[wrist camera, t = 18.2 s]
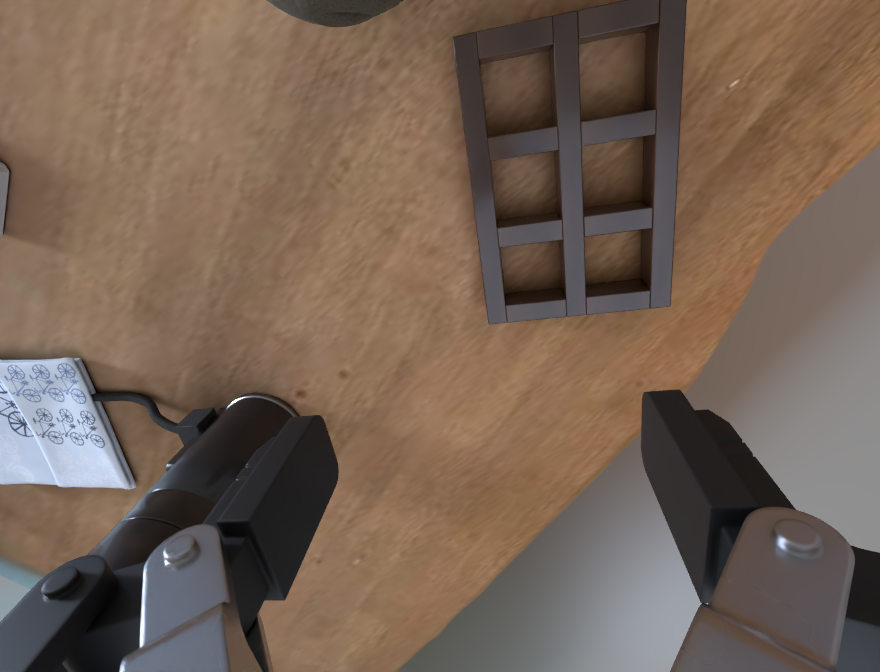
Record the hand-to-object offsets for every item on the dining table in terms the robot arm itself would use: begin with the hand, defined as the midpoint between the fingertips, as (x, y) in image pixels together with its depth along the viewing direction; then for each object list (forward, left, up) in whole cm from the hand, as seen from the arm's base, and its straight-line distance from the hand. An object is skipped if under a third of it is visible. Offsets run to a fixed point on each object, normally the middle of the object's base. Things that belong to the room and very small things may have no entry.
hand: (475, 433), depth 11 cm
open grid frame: (+6, +2, -30) cm, 31 cm away
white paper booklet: (-57, -17, -30) cm, 67 cm away
